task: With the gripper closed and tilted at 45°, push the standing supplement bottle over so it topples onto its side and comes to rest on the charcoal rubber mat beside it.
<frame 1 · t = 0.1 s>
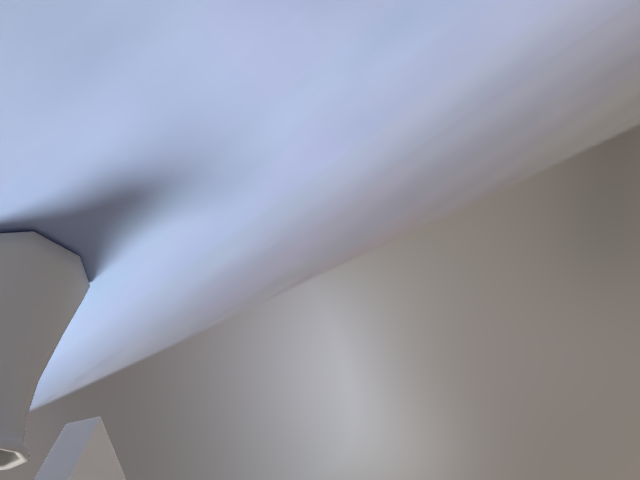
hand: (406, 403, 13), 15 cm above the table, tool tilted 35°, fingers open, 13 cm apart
flask: (16, 265, 32), on the table
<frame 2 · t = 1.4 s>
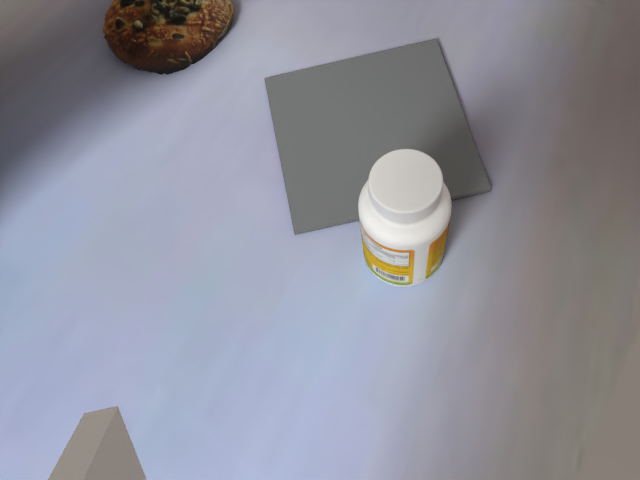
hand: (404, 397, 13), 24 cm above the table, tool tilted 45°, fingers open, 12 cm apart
supplement bottle: (402, 252, 41), on the table
bread roll: (172, 28, 52), on the table
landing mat: (370, 132, 45), on the table
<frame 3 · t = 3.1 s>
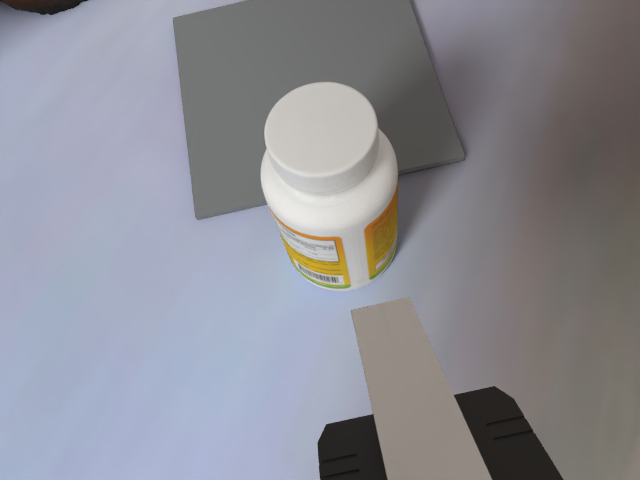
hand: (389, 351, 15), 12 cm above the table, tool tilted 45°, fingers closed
supplement bottle: (342, 243, 29), on the table
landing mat: (305, 84, 34), on the table
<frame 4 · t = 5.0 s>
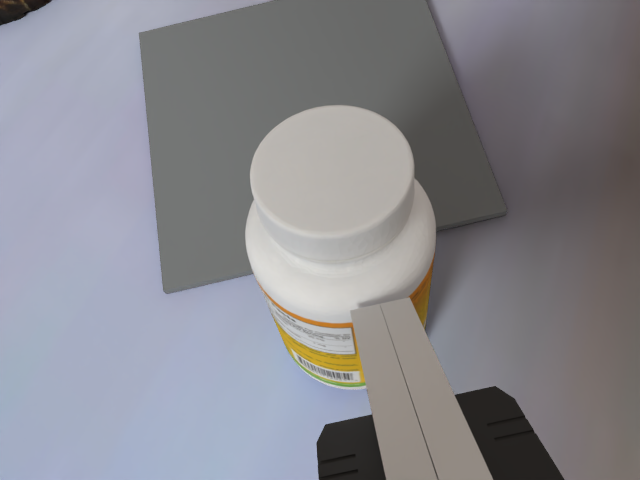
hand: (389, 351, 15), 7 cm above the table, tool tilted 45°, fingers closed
supplement bottle: (353, 324, 23), on the table, touching gripper
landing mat: (302, 116, 27), on the table
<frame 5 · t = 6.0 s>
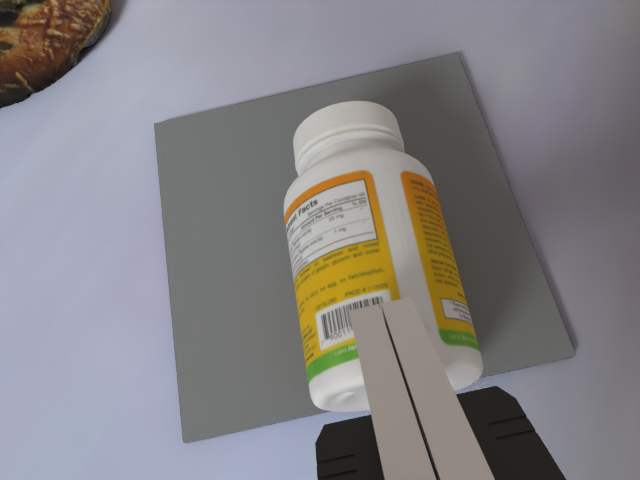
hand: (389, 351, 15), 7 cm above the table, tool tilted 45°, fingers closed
supplement bottle: (399, 401, 18), point 3 cm above the table, touching gripper, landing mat
bread roll: (16, 32, 32), on the table
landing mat: (337, 228, 24), on the table
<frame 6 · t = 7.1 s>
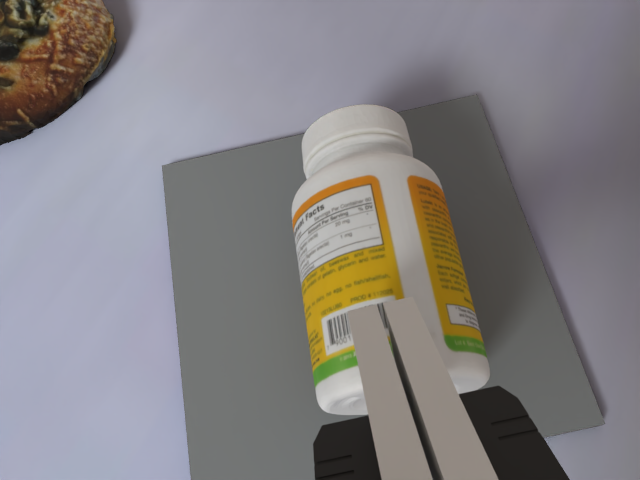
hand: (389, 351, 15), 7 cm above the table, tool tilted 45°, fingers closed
supplement bottle: (406, 405, 18), point 3 cm above the table, touching gripper, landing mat
bread roll: (18, 62, 31), on the table
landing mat: (354, 280, 23), on the table
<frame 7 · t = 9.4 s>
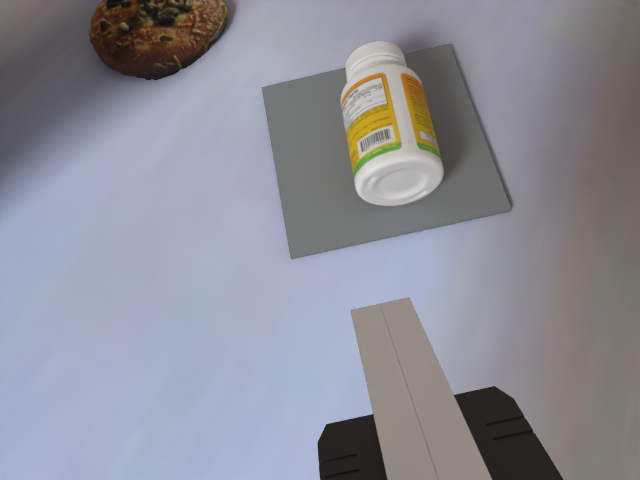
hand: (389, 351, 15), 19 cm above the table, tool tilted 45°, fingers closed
supplement bottle: (400, 188, 35), point 3 cm above the table, touching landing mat
bread roll: (163, 32, 49), on the table
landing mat: (376, 146, 41), on the table
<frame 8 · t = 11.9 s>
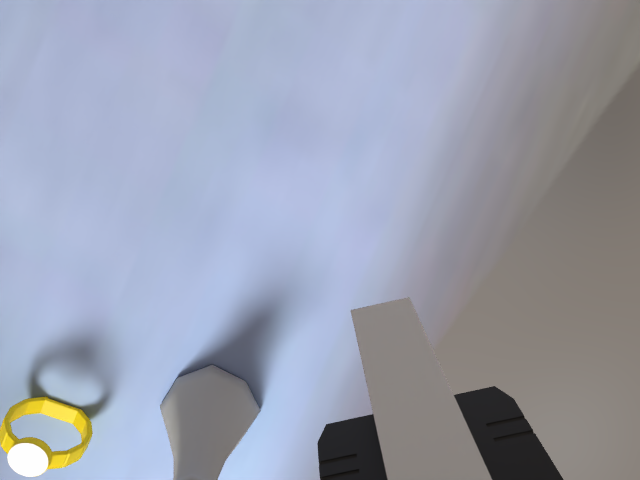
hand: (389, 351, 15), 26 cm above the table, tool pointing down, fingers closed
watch: (61, 408, 46), on the table
flask: (211, 404, 46), on the table
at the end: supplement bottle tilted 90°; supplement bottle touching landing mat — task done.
